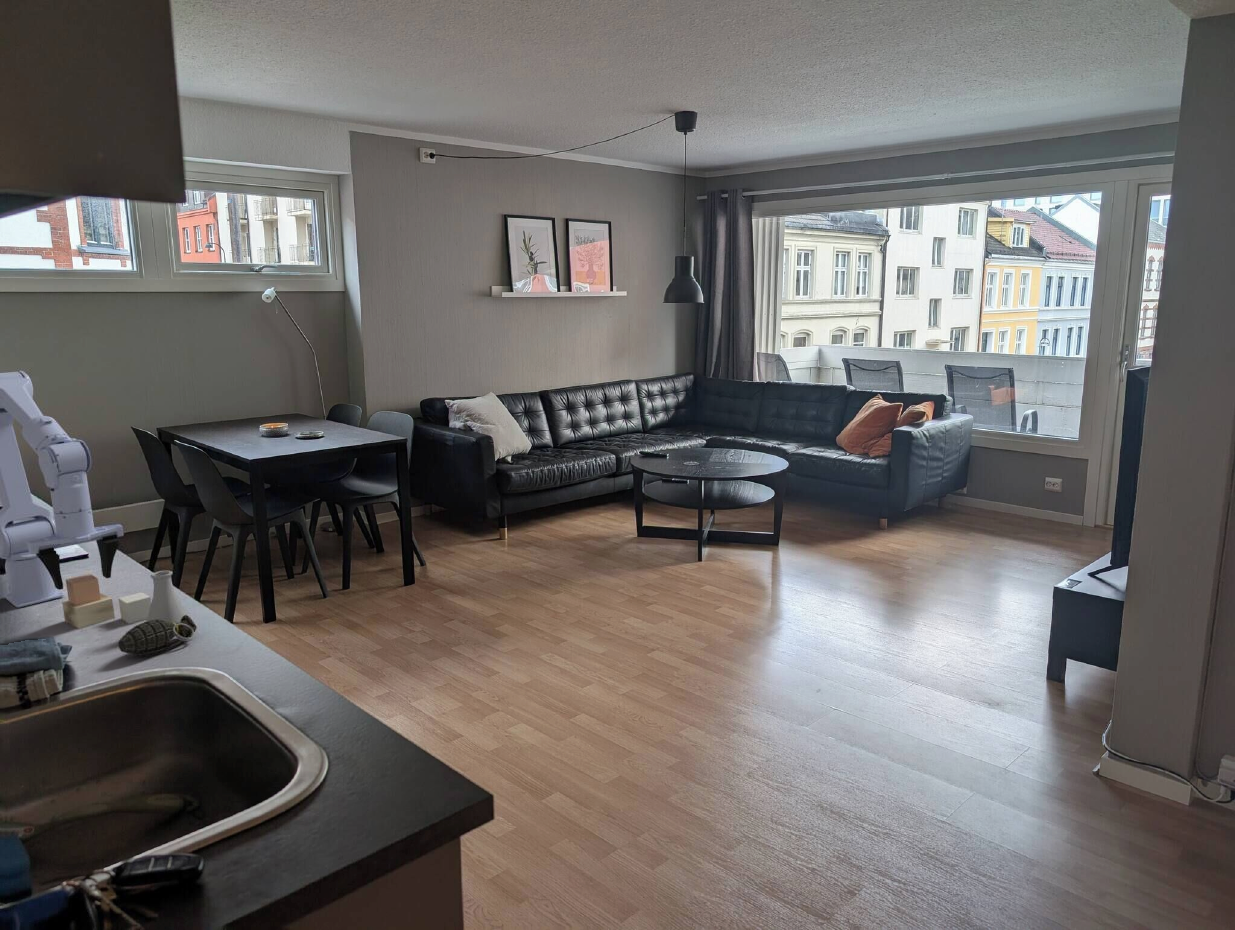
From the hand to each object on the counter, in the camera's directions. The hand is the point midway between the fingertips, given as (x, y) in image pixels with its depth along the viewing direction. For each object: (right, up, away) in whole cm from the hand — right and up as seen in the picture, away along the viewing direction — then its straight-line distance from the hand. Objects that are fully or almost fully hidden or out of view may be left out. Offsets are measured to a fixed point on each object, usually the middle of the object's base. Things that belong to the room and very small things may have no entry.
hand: (83, 582), depth 154 cm
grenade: (+21, -10, -12) cm, 26 cm away
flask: (+17, -8, -2) cm, 19 cm away
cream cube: (+9, -7, +2) cm, 11 cm away
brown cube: (0, -3, +1) cm, 3 cm away
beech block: (0, -7, +2) cm, 7 cm away
